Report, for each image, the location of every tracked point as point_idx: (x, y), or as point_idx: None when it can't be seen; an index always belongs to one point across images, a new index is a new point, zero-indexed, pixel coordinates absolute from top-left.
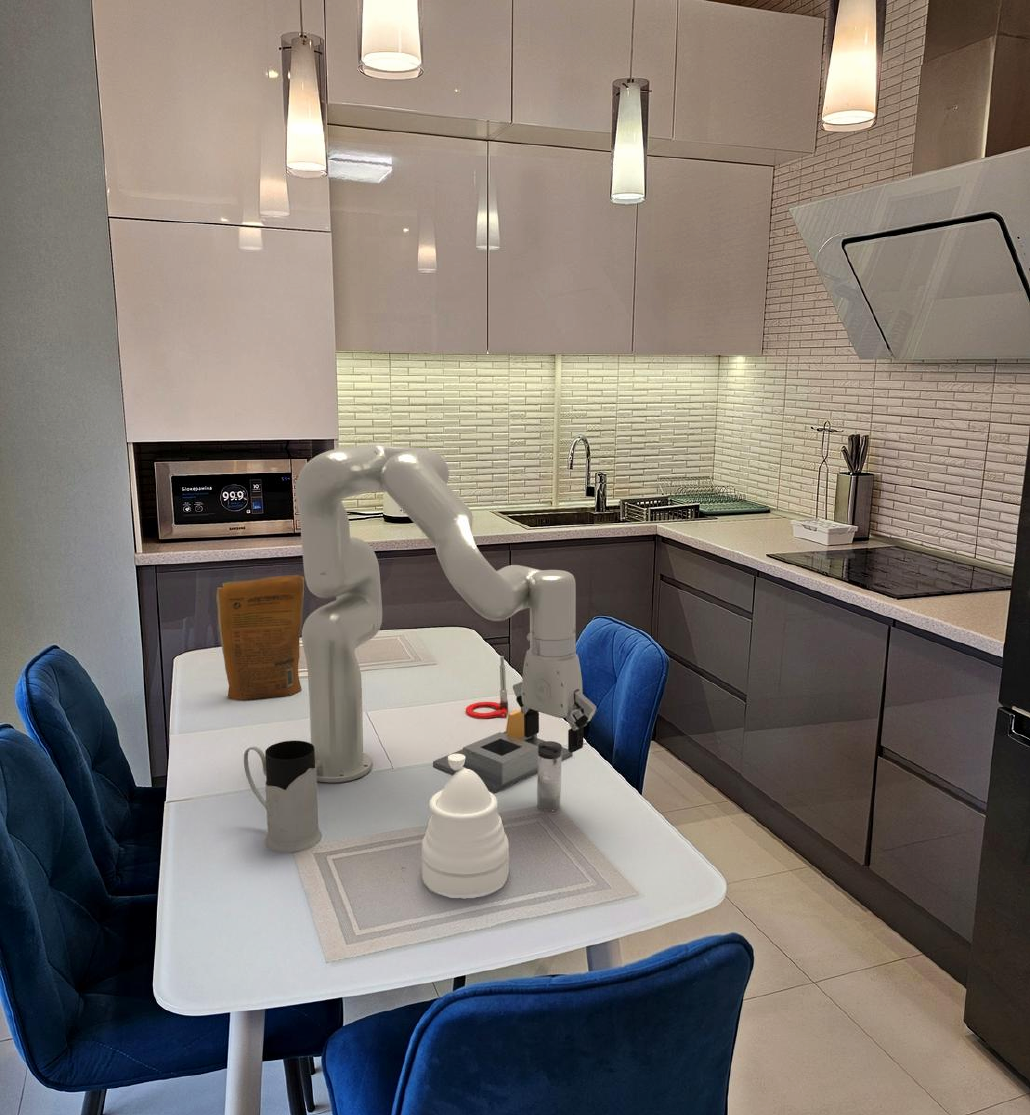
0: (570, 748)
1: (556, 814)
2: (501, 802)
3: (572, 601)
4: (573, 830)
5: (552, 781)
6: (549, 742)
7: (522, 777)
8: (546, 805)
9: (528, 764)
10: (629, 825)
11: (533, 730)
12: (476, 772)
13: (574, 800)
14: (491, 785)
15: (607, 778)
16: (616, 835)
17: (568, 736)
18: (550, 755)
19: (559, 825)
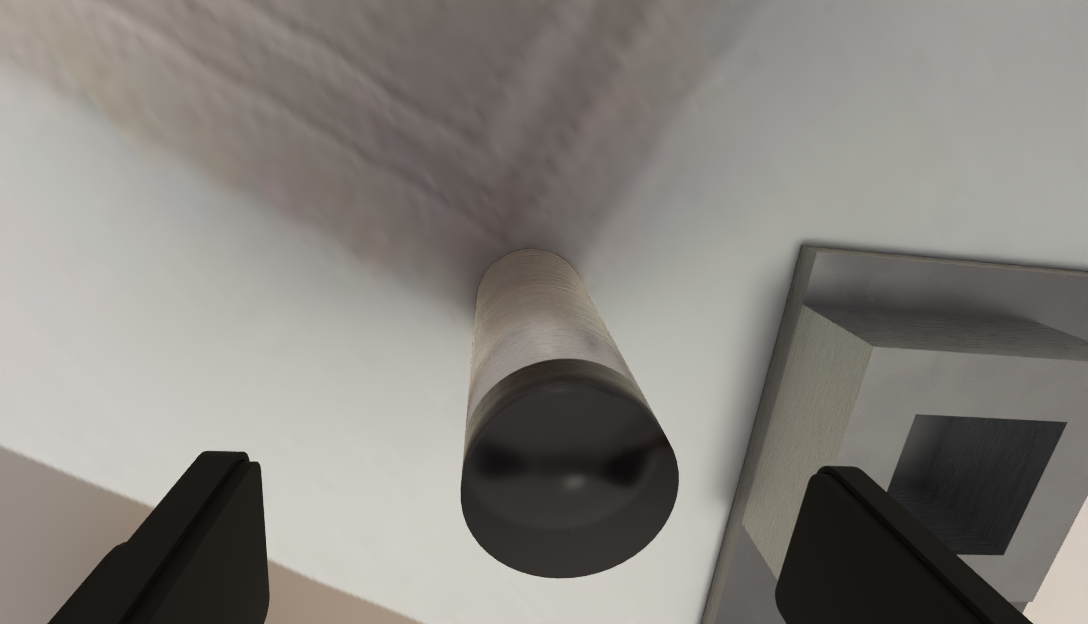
0: (193, 475)
1: (453, 259)
2: (729, 193)
3: None
4: (290, 179)
5: (487, 322)
6: (616, 541)
7: (760, 423)
8: (509, 261)
9: (775, 487)
10: (136, 378)
11: (819, 573)
12: (961, 318)
13: None
14: (841, 262)
15: (477, 620)
16: (108, 267)
17: (152, 599)
18: (503, 396)
19: (374, 178)
